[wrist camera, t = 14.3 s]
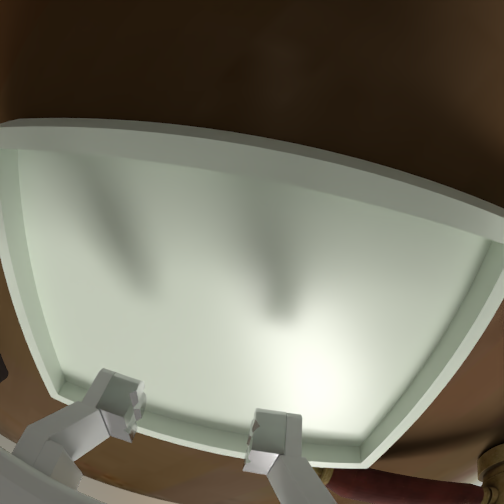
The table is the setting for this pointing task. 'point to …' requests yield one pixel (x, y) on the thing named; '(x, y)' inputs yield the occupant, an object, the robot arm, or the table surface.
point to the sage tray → (242, 279)
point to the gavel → (418, 484)
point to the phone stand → (2, 370)
